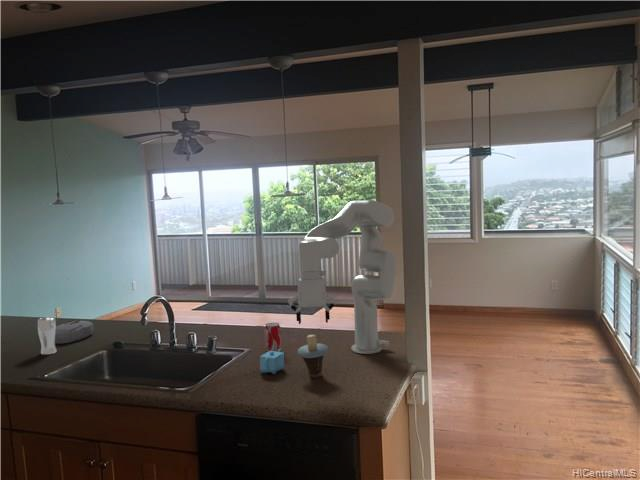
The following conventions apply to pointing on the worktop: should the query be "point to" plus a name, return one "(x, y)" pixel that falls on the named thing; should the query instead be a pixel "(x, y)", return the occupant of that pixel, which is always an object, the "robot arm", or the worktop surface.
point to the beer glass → (47, 335)
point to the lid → (312, 348)
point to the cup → (314, 366)
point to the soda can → (272, 337)
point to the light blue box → (272, 361)
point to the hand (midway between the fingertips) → (313, 322)
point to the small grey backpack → (73, 331)
